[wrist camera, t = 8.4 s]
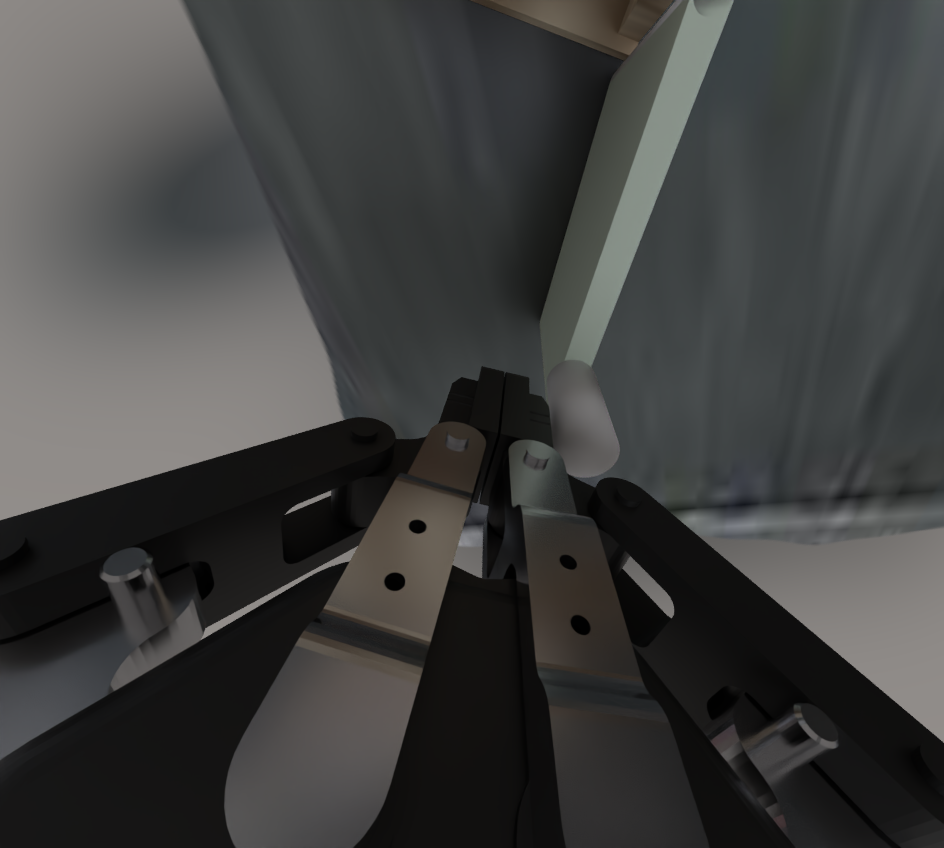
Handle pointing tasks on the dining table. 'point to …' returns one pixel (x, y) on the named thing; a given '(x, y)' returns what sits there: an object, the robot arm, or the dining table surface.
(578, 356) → the grey-green rectangular panel
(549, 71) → the dining table surface
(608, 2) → the birch box
